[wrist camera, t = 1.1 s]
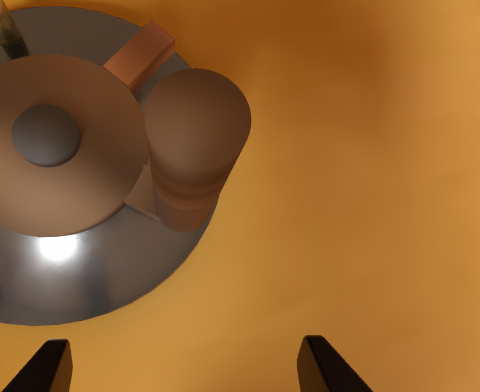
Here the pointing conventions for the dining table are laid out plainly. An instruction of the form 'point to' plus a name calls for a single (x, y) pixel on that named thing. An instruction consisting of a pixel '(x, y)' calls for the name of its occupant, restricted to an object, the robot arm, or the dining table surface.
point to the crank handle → (114, 139)
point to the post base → (104, 235)
